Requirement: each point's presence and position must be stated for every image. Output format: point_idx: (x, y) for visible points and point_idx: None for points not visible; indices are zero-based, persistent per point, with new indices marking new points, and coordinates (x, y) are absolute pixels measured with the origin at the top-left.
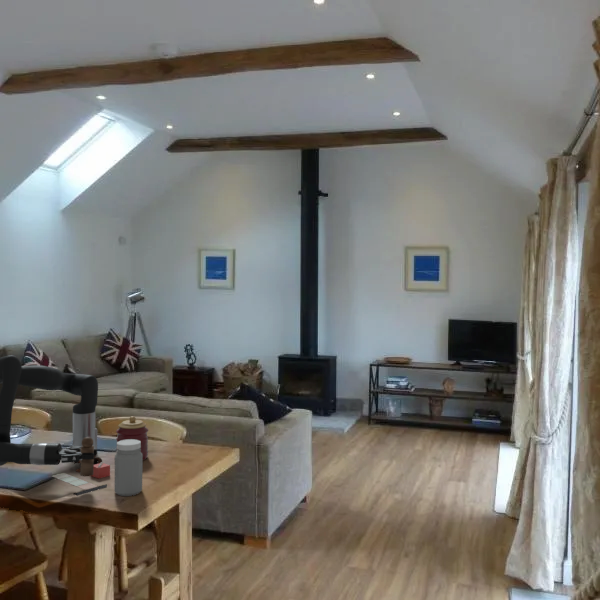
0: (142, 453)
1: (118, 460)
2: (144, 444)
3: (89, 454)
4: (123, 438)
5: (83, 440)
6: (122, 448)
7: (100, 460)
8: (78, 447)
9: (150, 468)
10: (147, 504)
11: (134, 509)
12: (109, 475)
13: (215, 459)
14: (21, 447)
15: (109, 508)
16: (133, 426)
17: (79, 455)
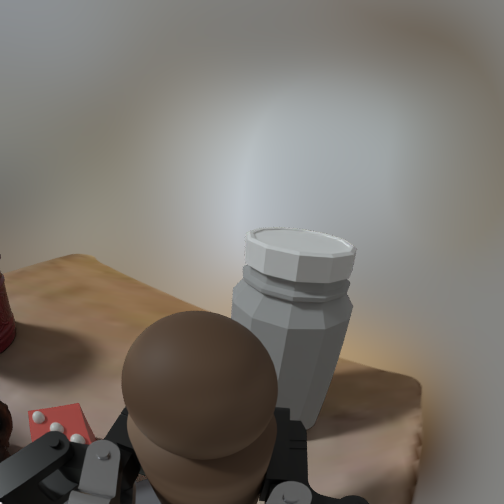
0: (11, 314)
1: (346, 326)
2: (5, 289)
3: (292, 435)
4: None
5: (243, 397)
6: (352, 265)
7: (1, 404)
8: (83, 497)
9: (76, 337)
10: (365, 368)
11: (401, 384)
12: (91, 431)
13: (105, 270)
14: None
15: (412, 431)
16: None
17: (348, 499)
